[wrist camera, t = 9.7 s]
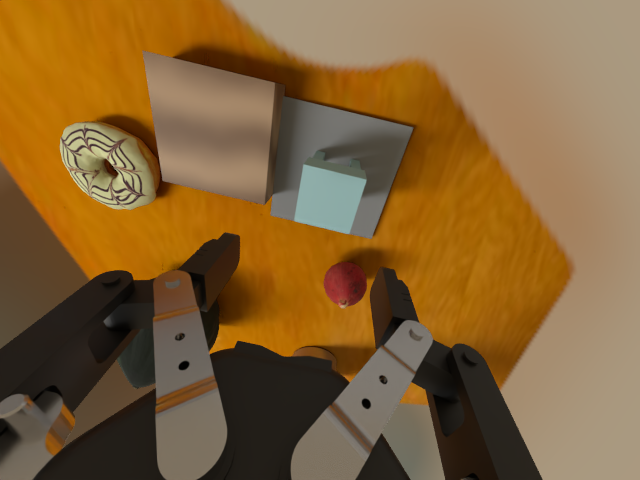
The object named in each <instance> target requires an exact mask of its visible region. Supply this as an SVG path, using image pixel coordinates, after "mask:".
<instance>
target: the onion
mask: <svg viewBox="0 0 640 480" xmlns="http://www.w3.org/2000/svg"><path fill="white" fill-rule="evenodd" d="M324 288H325V291H326V294H327V295H328V297H329V298H330V299H331V300H332V301H333V302H335V303H336V304H338V305H339V306H340V308H344V309H345V308H346V307H347V306H351V305H354V304H356V303H357V302H359V301H360V300H361V299H362V297H363V296H364V294H365V291H366V289H367V280H366V275H365V273H364V272H363V270H362V269H361V268H360V267H359V266H357V265H356V264H354V263H350V262H341V263H337V264H335V265H333V266H332V267H331V268H330V269H329V270H328V271H327V272H326V275H325V279H324Z"/></svg>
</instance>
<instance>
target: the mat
mask: <svg viewBox="0 0 640 480" xmlns="http://www.w3.org/2000/svg"><path fill="white" fill-rule="evenodd" d="M412 130H413V127H410V126H406V125H402V124H398V123H393V122H389V121H385V120H381V119H377V118H373V117H369V116H364V115H360V114H356V113H352V112H348V111H344V110H340V109H335V108H331V107H327V106H323V105H319V104H315V103H311V102H306V101H302V100H298V99H294V98H290V97H286V96H283V100H282V110H281V120H280V129H279V139H278V149H277V158H276V168H275V178H274V187H273V197H272V206H271V216H276V217H280V218H284V219H288V220H293V221H294V218H295V212H296V206H297V200H298V194H299V188H300V183H301V177H302V171H303V165H304V163H305V162H306V160H307V159H308V157H311V158H313V156H314V154H315V153H316V151H321V152H325V157H324V161H328V162H332V163H336V164H340V165H344V166H348V167H349V164H350V161H351V159H354V160H358V161H360V167H361V170H365V174H366V178H367V181H366V184H365V187H364V190H363V193H362V196H361V199H360V202H359V205H358V209H357V212H356V215H355V218H354V221H353V224H352V227H351V230H350V233H349V234H353V235H357V236H361V237H365V238H370V239H372V236H373V233H374V231H375V228H376V225H377V223H378V220H379V217H380V215H381V212H382V210H383V207H384V204H385V202H386V199H387V196H388V194H389V191H390V188H391V186H392V183H393V180H394V178H395V175H396V173H397V170H398V167H399V165H400V162H401V159H402V157H403V154H404V151H405V149H406V146H407V144H408V141H409V138H410V136H411V133H412Z"/></svg>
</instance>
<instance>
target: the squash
mask: <svg viewBox="0 0 640 480" xmlns="http://www.w3.org/2000/svg"><path fill="white" fill-rule="evenodd" d="M155 279H156V278H154V279H150V280H155ZM199 311H200V310H199ZM200 315H201V320H202V324H203V329H204V333H205V337H206V342H207V346H208V350H209V351H210V349H211V348H212V347H213V345H214V343H215V341H216V338H217V335H218V330H219V305H218V303H217V301H216V300H215V301H214V303H213V304H212V306H211V307H210V309H209V310H208V312H205V311H200ZM117 361H118V363H119V365H120V367H121V369H122V371H123V373H124V375H125V376H126V378H127V380H128V381H129V382H130V383H131V384H132V385H133V388H134V389H138V388H139V387H146V386H149V385H152V384H154V383H156V378H155V356H154V334H153V328H148V329H141V330H140V331H139V332H138V334H137V335H136V336H135V337H134V339H133V340H132V341H131V342H130V343H129V345H128V346H127V347H126V348H125V350H124V351H123V352H122V353H121V354H120V356H119V357H118V358H117Z"/></svg>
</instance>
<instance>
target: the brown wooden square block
mask: <svg viewBox="0 0 640 480" xmlns="http://www.w3.org/2000/svg"><path fill="white" fill-rule="evenodd" d="M143 57H144V63H145V70H146V76H147V83H148V89H149V96H150V102H151V109H152V115H153V122H154V128H155V135H156V141H157V148H158V154H159V161H160V167H161V174H162V180H163V181H165V182H169V183H174V184H178V185H182V186H186V187H191V188H195V189H199V190H203V191H208V192H212V193H216V194H221V195H225V196H229V197H233V198H238V199H242V200H246V201H250V202H255V203H259V204H263V205H265V204H266V202H267V201H268V200H269V199H270V197H271V196H272V195H273V187H274V178H275V168H276V158H277V149H278V139H279V129H280V120H281V110H282V100H283V96H284V94H285V85H283V84H279V83H275V82H271V81H267V80H263V79H258V78H254V77H250V76H246V75H242V74H238V73H234V72H230V71H225V70H221V69H217V68H213V67H209V66H205V65H201V64H197V63H192V62H188V61H184V60H180V59H176V58H172V57H168V56H163V55H159V54H155V53H151V52H146V51H143Z"/></svg>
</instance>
